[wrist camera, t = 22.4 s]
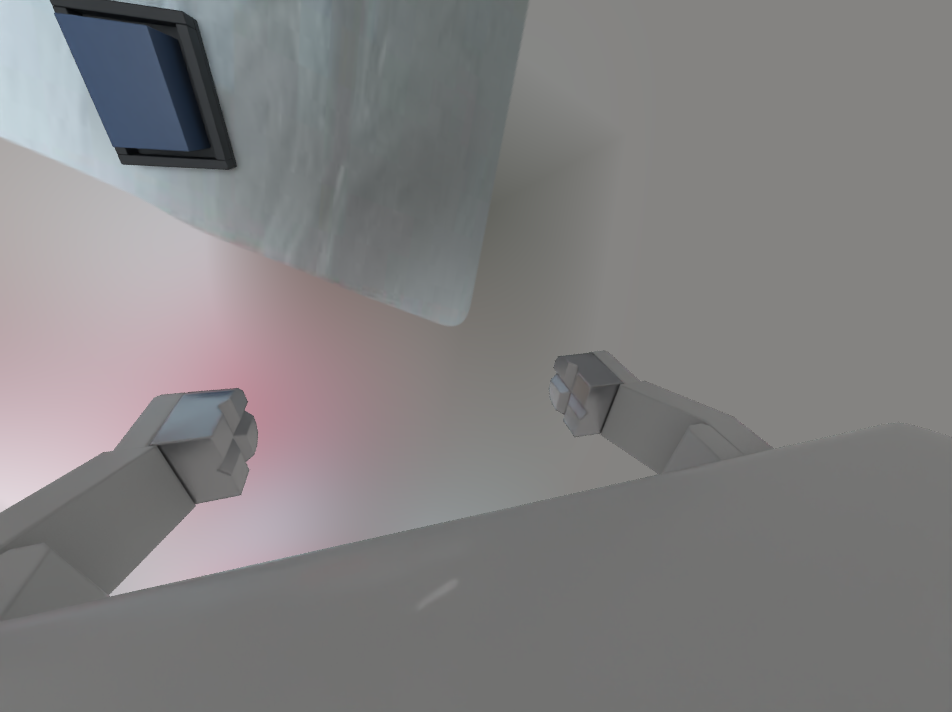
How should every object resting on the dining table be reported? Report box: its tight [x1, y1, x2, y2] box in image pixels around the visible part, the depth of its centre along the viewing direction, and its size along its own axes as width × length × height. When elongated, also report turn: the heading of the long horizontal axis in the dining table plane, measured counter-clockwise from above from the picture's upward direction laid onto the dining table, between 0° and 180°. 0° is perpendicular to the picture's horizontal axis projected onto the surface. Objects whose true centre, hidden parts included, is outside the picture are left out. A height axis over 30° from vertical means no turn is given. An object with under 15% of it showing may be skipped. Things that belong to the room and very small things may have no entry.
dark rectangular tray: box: [50, 0, 236, 170], centre depth 23 cm, size 8×6×2 cm
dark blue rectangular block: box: [54, 13, 211, 151], centre depth 21 cm, size 6×4×4 cm, turn 176°
